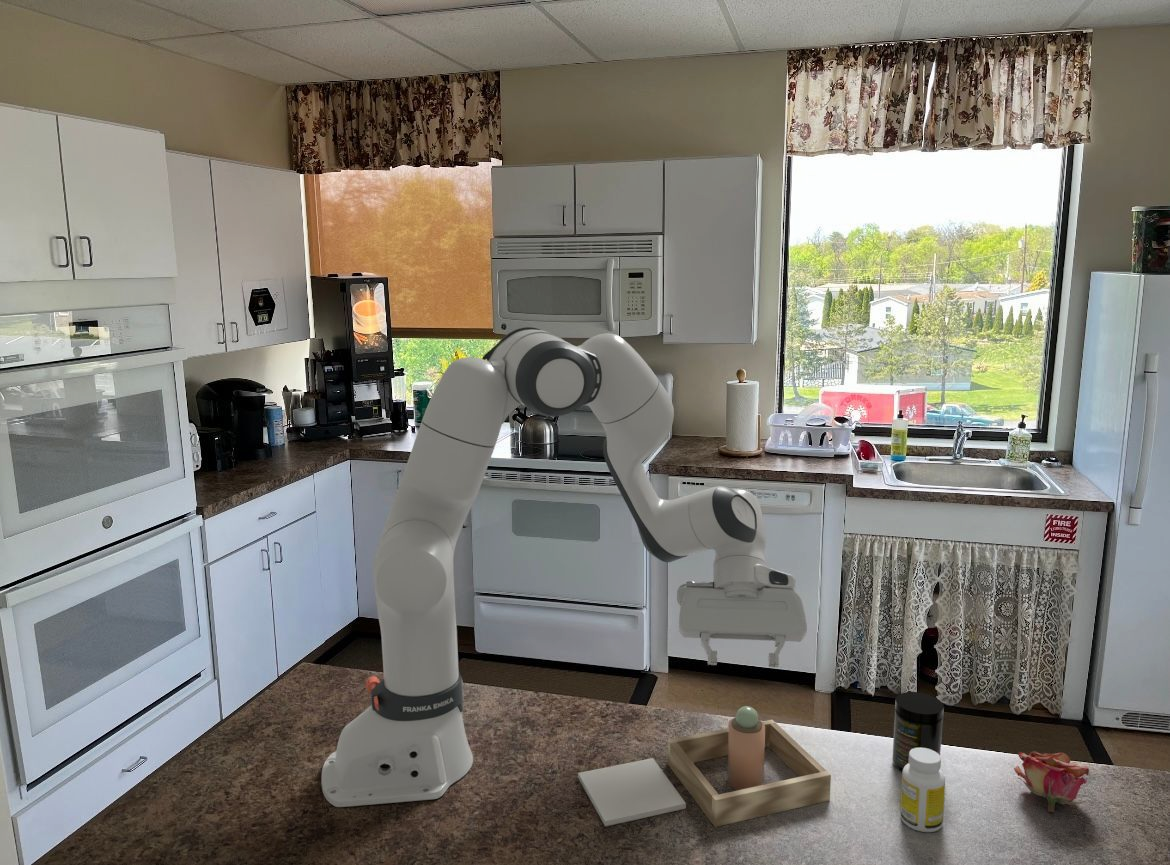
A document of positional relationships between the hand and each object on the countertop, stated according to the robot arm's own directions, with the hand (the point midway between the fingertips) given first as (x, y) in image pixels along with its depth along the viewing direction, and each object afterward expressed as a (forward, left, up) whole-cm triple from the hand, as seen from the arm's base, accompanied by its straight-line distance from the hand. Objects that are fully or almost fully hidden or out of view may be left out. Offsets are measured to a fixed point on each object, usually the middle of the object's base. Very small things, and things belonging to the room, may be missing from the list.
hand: (742, 664), depth 133 cm
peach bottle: (-4, -10, -13) cm, 17 cm away
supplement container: (+22, -15, -14) cm, 29 cm away
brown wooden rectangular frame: (-4, -10, -13) cm, 17 cm away
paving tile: (-21, -7, -13) cm, 26 cm away
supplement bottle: (+14, -26, -14) cm, 32 cm away
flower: (+34, -28, -14) cm, 46 cm away
